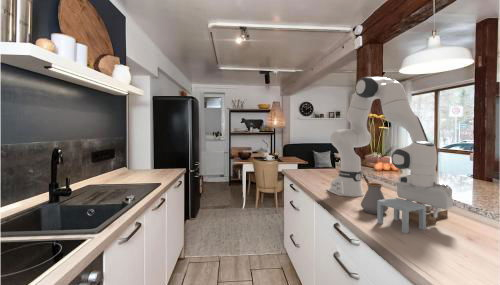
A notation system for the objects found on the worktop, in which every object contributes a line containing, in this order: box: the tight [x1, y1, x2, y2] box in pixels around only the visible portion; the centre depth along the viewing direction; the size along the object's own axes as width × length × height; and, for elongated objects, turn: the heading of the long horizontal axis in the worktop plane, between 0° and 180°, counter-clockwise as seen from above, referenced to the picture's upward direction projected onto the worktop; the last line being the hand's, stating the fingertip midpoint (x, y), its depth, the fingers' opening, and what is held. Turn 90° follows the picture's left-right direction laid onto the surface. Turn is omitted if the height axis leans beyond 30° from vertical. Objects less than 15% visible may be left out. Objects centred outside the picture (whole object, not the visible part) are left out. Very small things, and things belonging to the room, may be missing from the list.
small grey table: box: [376, 197, 427, 235], centre depth 95 cm, size 12×11×9 cm
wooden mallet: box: [409, 204, 449, 226], centre depth 101 cm, size 21×6×6 cm, turn 112°
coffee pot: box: [360, 174, 389, 215], centre depth 117 cm, size 21×12×15 cm, turn 173°
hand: (422, 213), depth 100 cm, fingers open, 8 cm apart
